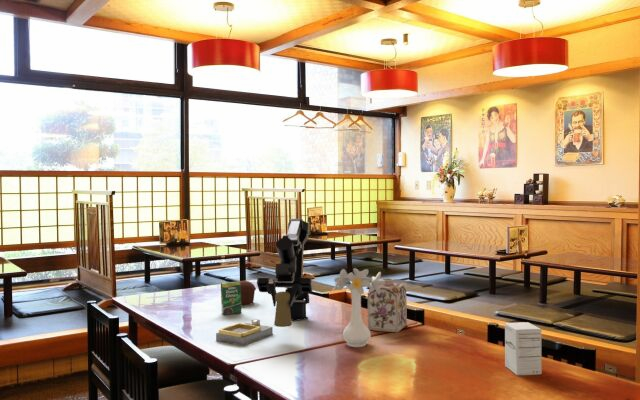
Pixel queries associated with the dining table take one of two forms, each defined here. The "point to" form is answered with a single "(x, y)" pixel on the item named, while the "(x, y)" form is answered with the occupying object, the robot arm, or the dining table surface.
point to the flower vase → (357, 304)
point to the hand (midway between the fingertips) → (282, 305)
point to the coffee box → (231, 298)
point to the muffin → (247, 292)
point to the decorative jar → (387, 307)
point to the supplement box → (523, 348)
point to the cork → (282, 310)
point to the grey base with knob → (243, 333)
